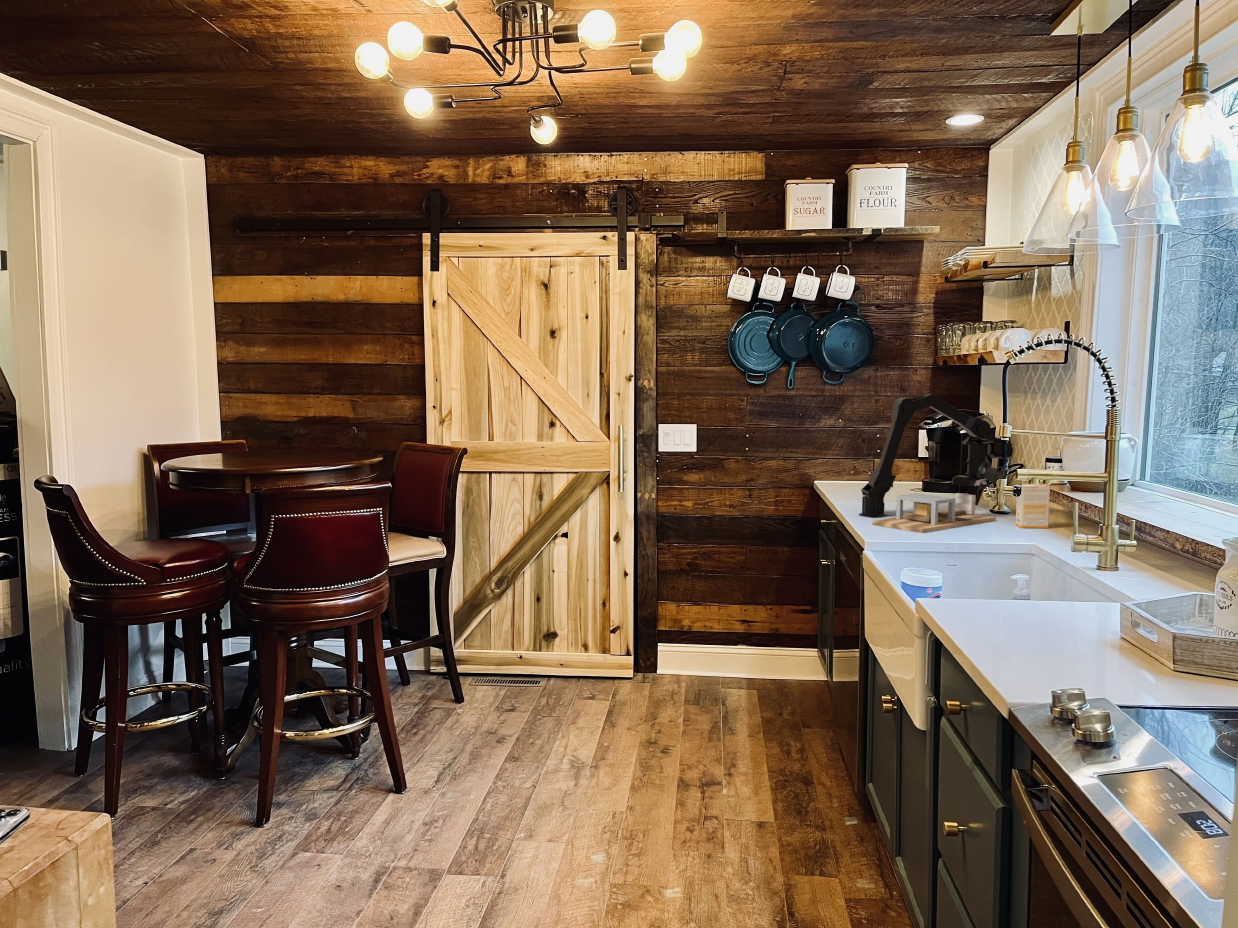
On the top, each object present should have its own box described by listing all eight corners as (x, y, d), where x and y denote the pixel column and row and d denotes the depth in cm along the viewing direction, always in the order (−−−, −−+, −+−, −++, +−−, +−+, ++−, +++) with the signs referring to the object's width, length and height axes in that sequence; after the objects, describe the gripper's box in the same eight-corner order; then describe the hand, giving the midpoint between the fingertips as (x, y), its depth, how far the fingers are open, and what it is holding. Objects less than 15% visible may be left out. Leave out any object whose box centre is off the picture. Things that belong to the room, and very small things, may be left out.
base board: (872, 524, 269) (872, 520, 269) (945, 513, 291) (945, 509, 290) (922, 532, 254) (922, 528, 254) (995, 520, 276) (995, 516, 276)
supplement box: (1042, 525, 266) (1044, 483, 265) (1048, 528, 261) (1050, 485, 260) (1014, 525, 267) (1016, 483, 266) (1020, 528, 262) (1022, 485, 261)
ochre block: (915, 515, 270) (916, 503, 269) (923, 514, 272) (923, 502, 272) (926, 517, 266) (927, 504, 266) (934, 516, 269) (935, 503, 268)
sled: (903, 518, 270) (904, 499, 270) (954, 510, 286) (954, 492, 285) (928, 522, 263) (929, 502, 263) (979, 514, 278) (979, 495, 278)
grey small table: (895, 522, 272) (896, 495, 272) (915, 519, 278) (916, 493, 277) (934, 528, 261) (935, 500, 260) (954, 525, 267) (955, 498, 266)
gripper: (983, 461, 271) (981, 511, 273) (1016, 458, 282) (1014, 505, 283) (952, 459, 280) (950, 506, 282) (985, 456, 291) (983, 502, 293)
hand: (975, 505), depth 285 cm, fingers closed
